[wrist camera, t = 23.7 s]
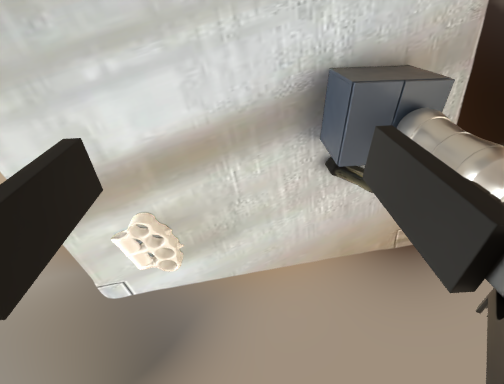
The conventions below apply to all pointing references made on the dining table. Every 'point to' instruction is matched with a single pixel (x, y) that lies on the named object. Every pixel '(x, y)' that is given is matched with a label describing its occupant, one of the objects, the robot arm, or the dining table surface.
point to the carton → (413, 91)
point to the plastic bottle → (457, 148)
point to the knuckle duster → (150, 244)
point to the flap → (367, 118)
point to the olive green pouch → (348, 173)
